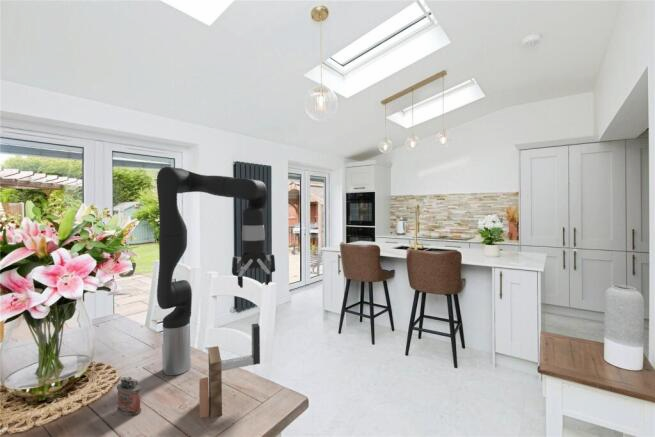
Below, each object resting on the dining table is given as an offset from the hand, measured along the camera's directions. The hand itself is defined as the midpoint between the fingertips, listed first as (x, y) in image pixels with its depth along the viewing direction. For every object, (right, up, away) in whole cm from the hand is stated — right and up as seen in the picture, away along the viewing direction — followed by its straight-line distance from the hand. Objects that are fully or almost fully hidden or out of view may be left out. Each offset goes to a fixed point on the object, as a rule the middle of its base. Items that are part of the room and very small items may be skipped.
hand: (254, 285), depth 106 cm
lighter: (-34, -35, -13) cm, 51 cm away
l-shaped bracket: (-3, -23, -8) cm, 25 cm away
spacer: (-12, -35, -12) cm, 39 cm away
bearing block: (-9, -35, -11) cm, 37 cm away
